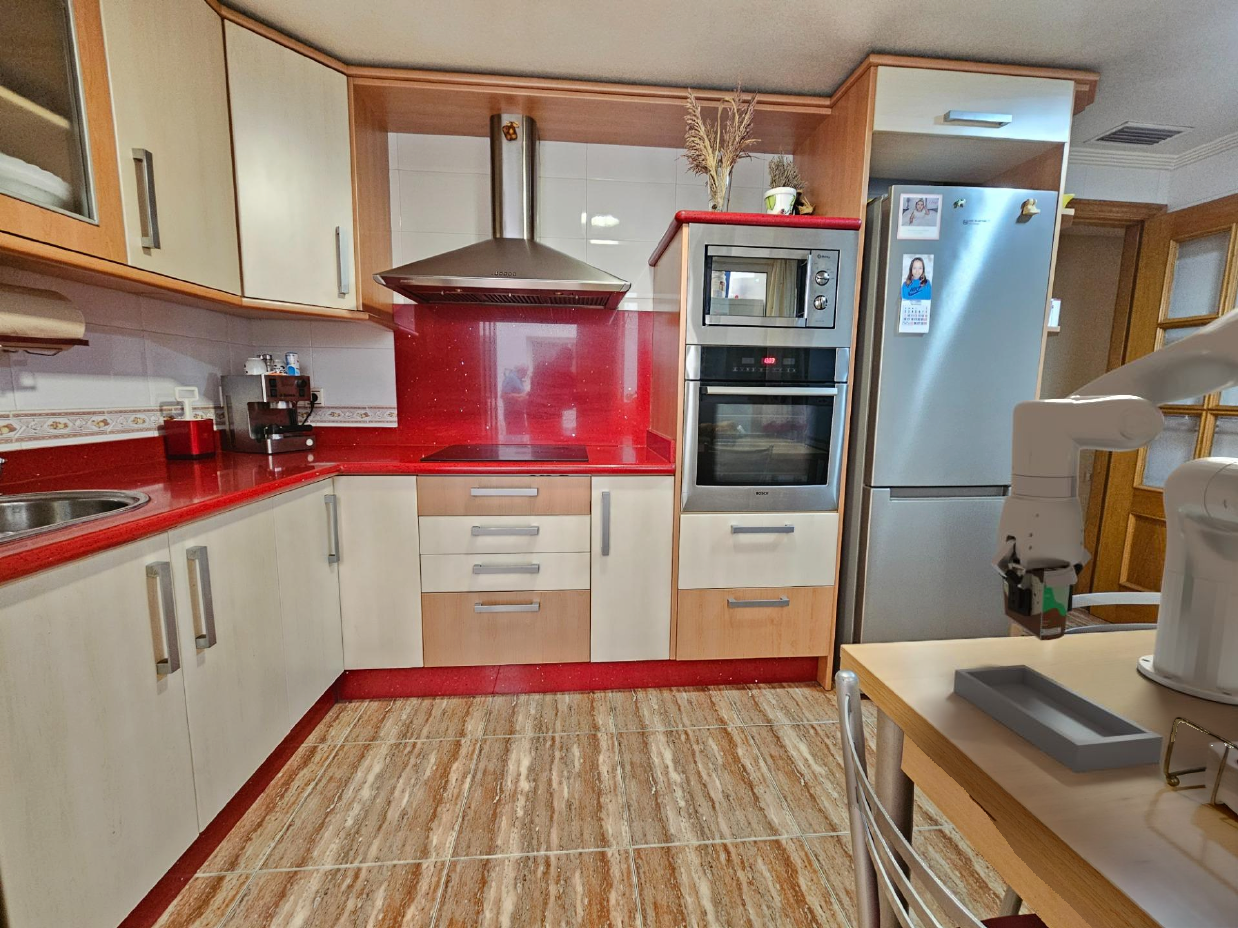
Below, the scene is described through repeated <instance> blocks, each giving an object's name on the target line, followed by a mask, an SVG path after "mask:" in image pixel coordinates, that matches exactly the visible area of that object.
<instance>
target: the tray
mask: <svg viewBox="0 0 1238 928" xmlns="http://www.w3.org/2000/svg"><path fill="white" fill-rule="evenodd" d="M953 683H954V684H953V692H955V693H956V694H957V695H959V696H961V697H962V698H963V699H965V700H966V701H968V702H969V703H971V704H972V705H974V706H975V707H977V708H978V709H980V710H981V711H983V712H984V713H986V714H987V715H989V716H990V717H992V718H993V719H994V720H996V721H998V722H999V723H1001V724H1002V725H1004V726H1005V727H1007V728H1008V729H1010V730H1011V731H1013V732H1014V733H1016V735H1019V736H1020V737H1022V738H1024V739H1025V740H1026V741H1028V742H1029V743H1031V744H1032V745H1034V746H1035V747H1036V748H1038V749H1040V750H1041V751H1043V752H1044V753H1045V754H1047V755H1048V756H1050V757H1052V758H1053V759H1055V760H1056V761H1058V762H1059V763H1061V765H1064V767H1067V768H1068V769H1070V770H1071V771H1073V772H1074V773H1082V772H1083V773H1084V772H1092V771H1101V770H1102V771H1103V770H1109V769H1121V768H1127V767H1137V766H1138V767H1139V766H1146V765H1155V764H1160V763H1161V762H1160V761H1161V753H1162V752H1161V751H1162V744H1163V736H1162V735H1160V734H1158V733H1156V732H1154V731H1152V730H1151V729H1149V728H1147V727H1145V726H1143V725H1141V724H1139V723H1137V722H1135V721H1133V720H1131V719H1130V718H1128V717H1125V716H1123V715H1121V714H1119V713H1118V712H1116V711H1113V710H1112V709H1110V708H1108V707H1106V706H1104V705H1102V704H1100V703H1099V702H1097V701H1095V700H1093V699H1091V698H1089V697H1087V696H1085V695H1083V694H1082V693H1080V692H1077V691H1076V690H1073V689H1072V688H1070V687H1068V686H1066V685H1064V684H1062V683H1061V682H1058V681H1057V680H1055V679H1053V678H1050V677H1049V676H1047V675H1044V674H1042V673H1041V672H1039V671H1037V670H1035V669H1034V668H1031V667H1029V666H1028V665H1025V664H1016V665H1000V666H989V667H988V666H986V667H976V668H975V667H974V668H973V667H971V668H958V669H957V668H956V669H954V681H953Z"/></svg>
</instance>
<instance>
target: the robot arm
mask: <svg viewBox="0 0 1238 928" xmlns="http://www.w3.org/2000/svg"><path fill="white" fill-rule="evenodd" d="M1236 387H1238V306H1236V307H1235V308H1233V309H1231V310H1229V311H1228V312H1226V313H1224V314H1223V315H1221V316H1220V317H1218V318H1216V319H1214V320H1213V321H1210V323H1207V324H1206V325H1204V326H1202V327H1201V328H1199V329H1198V330H1196V331H1194V332H1192V333H1191V334H1189V335H1187V336H1185V337H1183V338H1181V339H1179V340H1177V341H1174V342H1172V343H1169V344H1168V345H1167V344H1166V345H1165V346H1163V347H1161V348H1158V349H1157V350H1154V351H1152V352H1150V353H1148V354H1146V355H1143V356H1141V357H1140V358H1137V359H1134V360H1132V361H1130V362H1128V363H1126V364H1123V365H1121V366H1119V367H1117V368H1115V369H1113V370H1110V371H1109V372H1106V373H1105V374H1103V375H1101V376H1099V377H1097V378H1095V379H1093V380H1092V381H1090V382H1089V383H1087V384H1086V385H1083V386H1082V387H1081V388H1078V389H1077V390H1075V391H1074V392H1072V393H1071V394H1069V395H1068V396H1066V397H1064V398H1053V399H1051V398H1049V399H1030V400H1024V401H1020V402H1019V403H1017V404H1016V405H1015V406H1014V409H1013V411H1012V413H1013V414H1012V440H1011V443H1012V444H1011V471H1010V473H1011V474H1010V475H1011V476H1010V477H1011V478H1010V495H1008V496H1006V497H1005V499H1004V502H1003V505H1002V509H1001V513H1000V514H1001V515H1000V519H999V525H998V533H997V547H996V554H995V556H994V557H993V558H992V559H991V560H990V566H991V567H992V568H993V569H994V570H996V572H998V574H999V575H1000V576H1001V579H1002V578H1003V579H1004V582H1005V583H1007V584H1008V609H1009V610H1010V611H1013V612H1015V613H1018V614H1020V615H1023V616H1030V615H1031V600H1032V591H1031V589H1029V588H1027V587H1028V584H1029V582H1030V579H1031V576H1032V570H1034V569H1043V568H1054V567H1064V566H1067V565H1068V562H1070V563H1071V566H1072V567H1073V569H1074V572H1075V575H1076V582H1075V583H1073V584H1070V587H1069V597H1068V607H1067V613H1068V612H1069V613H1071V612H1072V611H1073V595H1074V593H1073V592H1074V591H1073V590H1074V585H1076V584H1077V582H1078V576H1079V575H1080V574H1081V572H1082V571H1083V569H1084V567H1085V566H1086V564H1087V563H1088V562H1089V561H1090V560H1091V558H1092V555H1091V553H1090V552H1089V551H1088V549H1086V547H1085V546H1084V543H1085V541H1084V537H1085V536H1084V534H1085V533H1084V531H1085V530H1084V519H1083V509H1082V504H1081V499H1080V497H1079V485H1080V483H1081V482H1080V478H1079V477H1080V457H1081V456H1080V455H1081V451H1082V450H1085V449H1086V450H1097V451H1098V450H1099V451H1109V452H1130V451H1135V450H1138V449H1142V448H1144V447H1147V446H1148V445H1150V444H1152V443H1154V442H1155V441H1156V440H1157V439H1158V438H1159V437H1160V435H1161V434H1162V433H1163V431H1164V427H1165V417H1164V414H1163V412H1162V410H1161V409H1160V408H1159V407H1160V406H1163V405H1167V404H1169V403H1173V402H1178V401H1183V400H1188V399H1194V398H1198V397H1204V396H1208V395H1211V394H1216V393H1218V392H1219V393H1220V392H1222V391H1226V390H1228V389H1233V388H1236ZM1163 485H1164V486H1163V491H1162V502H1163V509H1164V515H1165V516H1164V517H1165V523H1166V547H1165V556H1164V557H1165V559H1164V564H1163V565H1164V566H1163V570H1162V571H1163V572H1162V581H1161V586H1160V587H1161V588H1160V597H1159V605H1158V614H1157V622H1156V623H1157V624H1156V633H1155V641H1154V649H1153V654H1149V655H1148V654H1147V655H1143V656H1140V657H1139V658H1138V659H1137V666H1136V667H1137V668H1138V670H1139V671H1140V672H1141V674H1143V675H1144V676H1146V677H1147V678H1149V679H1151V680H1153V681H1155V682H1156V683H1158V684H1161V685H1162V686H1165V687H1168V688H1170V689H1173V690H1175V691H1179V692H1180V693H1183V694H1187V695H1191V696H1195V697H1196V698H1197V697H1198V698H1200V699H1204V700H1210V701H1213V702H1216V703H1217V702H1218V703H1224V704H1229V705H1230V704H1231V705H1236V706H1238V458H1236V457H1228V456H1227V457H1226V456H1208V457H1200V458H1196V459H1191V460H1189V461H1185V463H1181V464H1180V465H1179V466H1177V467H1176V468H1175V469H1173V470H1172V471H1171V472H1170V474H1169V475H1168V476H1167V477H1166V480H1165V482H1164V484H1163ZM1009 562H1010V565H1009V566H1008V563H1009ZM1019 569H1022V573H1021V576H1019V575H1018V574H1017V572H1018V570H1019Z"/></svg>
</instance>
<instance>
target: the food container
mask: <svg viewBox="0 0 1238 928" xmlns="http://www.w3.org/2000/svg"><path fill="white" fill-rule="evenodd" d="M1009 565H1010V562H1009V563H1008V566H1009ZM1021 573H1022V569H1019V570H1018V572H1017V574H1018V575H1019V576H1021ZM1075 582H1076V575H1075V572H1074V569H1073V567H1072V566H1071V563H1070V562H1068V565H1067V566H1064V567H1054V568H1043V569H1034V570H1032V576H1031V579H1030V582H1029V584H1028V587H1027V588H1029V589H1031V591H1032V600H1031V615H1030V616H1023V615H1020V614H1018V613H1015V612H1013V611H1010V610H1009V609H1008V584H1007V583H1005V582H1004V579H1003V578H1002V577H1001V585H1002V598H1003V599H1002V600H1003V613H1004V617H1006V618H1008V619H1009V620H1011V621H1012V622H1014V623H1015V624H1016V625H1018V626H1019V627H1021V628H1022V629H1023V630H1025V631H1026V632H1028V633H1029V634H1031V635H1032V636H1034V637H1035V638H1036V639H1038V640H1040V641H1053V640H1058V639H1061V638H1062V637H1064V636H1065V634H1066V626H1067V625H1066V624H1067V618H1068V617H1067V614H1068V612H1067V607H1068V597H1069V587H1070V584H1072V585H1074V584H1073V583H1075ZM1076 583H1077V582H1076Z"/></svg>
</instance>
